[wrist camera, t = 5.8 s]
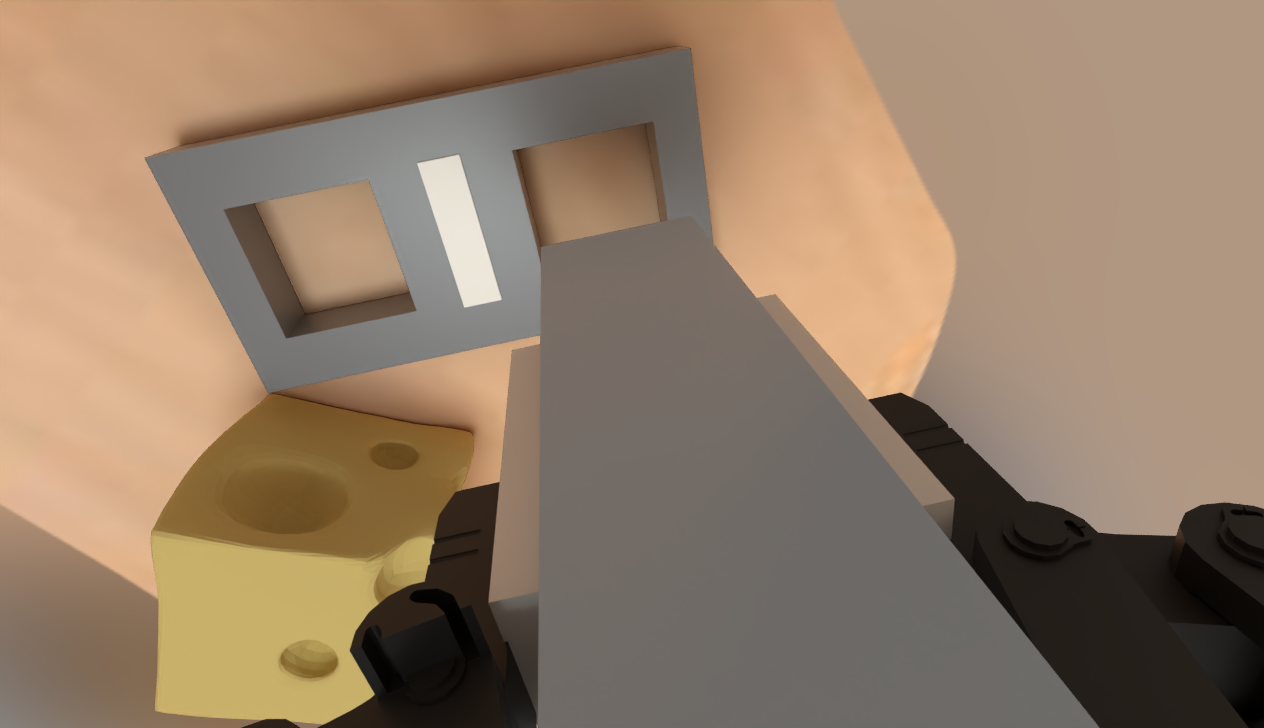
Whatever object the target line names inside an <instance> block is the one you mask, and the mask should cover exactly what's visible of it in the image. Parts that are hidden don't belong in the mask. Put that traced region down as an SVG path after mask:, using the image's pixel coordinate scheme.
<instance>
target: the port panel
mask: <svg viewBox="0 0 1264 728" xmlns="http://www.w3.org/2000/svg"><path fill="white" fill-rule="evenodd" d="M644 123H646V130H647V136H648V143H649V149H650V156H651V162H652V168H653V175H654V181H655V188H656V194H657V201H658V207H659V214H660V220H661V222H663V221H667V220H672V219H677V218H682V217H687V216H691V217H692V218H693V219H694V220H695V222H696V223H697V224H698V225H699V227H700V228H701V229H702V230H703V232H704V233H705V234H706V235H707V237H708V238H709V239H710V240H711V242H712V243H713V237H712V229H711V220H710V212H709V203H708V194H707V186H706V177H705V169H704V160H703V151H702V143H701V134H700V126H699V117H698V108H697V100H696V91H695V83H694V74H693V65H692V57H691V48H687V47H681V46H675V47H670V48H665V49H660V50H655V51H650V52H645V53H640V54H635V55H630V56H625V57H620V58H615V59H610V60H606V61H601V62H596V63H591V64H586V65H581V66H576V67H571V68H566V69H561V70H556V71H551V72H546V73H541V74H536V75H531V76H526V77H521V78H516V79H511V80H506V81H501V82H496V83H491V84H486V85H481V86H476V87H471V88H466V89H461V90H456V91H451V92H446V93H441V94H436V95H431V96H426V97H421V98H416V99H411V100H406V101H401V102H397V103H392V104H387V105H382V106H377V107H372V108H367V109H362V110H357V111H352V112H347V113H342V114H337V115H332V116H327V117H322V118H317V119H312V120H307V121H302V122H297V123H292V124H287V125H282V126H277V127H272V128H267V129H262V130H257V131H252V132H247V133H242V134H237V135H232V136H227V137H222V138H217V139H212V140H207V141H202V142H197V143H192V144H187V145H183V146H178V147H175V148H172V149H169V150H166V151H163V152H160V153H158V154H155V155H152V156H149V157H146V158H145V160H146V162H147V164H148V166H149V168H150V169H151V171H152V173H153V175H154V177H155V179H156V181H157V183H158V185H159V187H160V188H161V190H162V192H163V194H164V196H165V198H166V200H167V202H168V204H169V206H170V207H171V209H172V211H173V213H174V215H175V217H176V219H177V221H178V223H179V225H180V226H181V228H182V230H183V232H184V234H185V236H186V238H187V240H188V242H189V244H190V245H191V247H192V249H193V251H194V253H195V255H196V257H197V259H198V261H199V263H200V264H201V266H202V268H203V270H204V272H205V274H206V276H207V278H208V280H209V282H210V283H211V285H212V287H213V289H214V291H215V293H216V295H217V297H218V299H219V301H220V302H221V304H222V306H223V308H224V310H225V312H226V314H227V316H228V318H229V320H230V321H231V323H232V325H233V327H234V329H235V331H236V333H237V335H238V337H239V339H240V340H241V342H242V344H243V346H244V348H245V350H246V352H247V354H248V356H249V358H250V359H251V361H252V363H253V365H254V367H255V369H256V371H257V373H258V375H259V377H260V378H261V380H262V382H263V384H264V386H265V388H266V390H267V392H268V393H271V392H276V391H280V390H285V389H290V388H294V387H299V386H304V385H308V384H313V383H318V382H322V381H327V380H332V379H337V378H341V377H346V376H351V375H355V374H360V373H365V372H369V371H374V370H379V369H383V368H388V367H393V366H397V365H402V364H407V363H412V362H416V361H421V360H426V359H430V358H435V357H440V356H444V355H449V354H454V353H458V352H463V351H468V350H472V349H477V348H482V347H487V346H491V345H496V344H501V343H505V342H510V341H515V340H519V339H524V338H529V337H533V336H538V335H540V318H541V245H540V241H539V237H538V233H537V229H536V225H535V221H534V217H533V213H532V209H531V205H530V201H529V197H528V193H527V189H526V185H525V181H524V177H523V173H522V169H521V165H520V161H519V157H518V153H517V149H522V148H527V147H532V146H536V145H541V144H546V143H551V142H556V141H561V140H566V139H571V138H576V137H580V136H585V135H590V134H595V133H600V132H605V131H610V130H615V129H620V128H625V127H629V126H634V125H639V124H644ZM365 180H369V182H370V185H371V188H372V190H373V193H374V196H375V199H376V201H377V204H378V207H379V209H380V212H381V215H382V218H383V220H384V223H385V226H386V229H387V231H388V234H389V237H390V239H391V242H392V245H393V248H394V250H395V253H396V256H397V258H398V261H399V264H400V267H401V269H402V272H403V275H404V277H405V280H406V283H407V286H408V288H409V291H410V293H407V294H402V295H397V296H393V297H388V298H383V299H378V300H373V301H369V302H364V303H359V304H354V305H350V306H345V307H340V308H335V309H331V310H326V311H321V312H316V313H312V314H307V315H305V313H304V311H303V309H302V307H301V305H300V302H299V300H298V298H297V296H296V294H295V292H294V289H293V287H292V285H291V283H290V281H289V279H288V276H287V274H286V272H285V270H284V268H283V265H282V263H281V261H280V259H279V257H278V255H277V252H276V250H275V248H274V246H273V244H272V242H271V239H270V237H269V235H268V233H267V231H266V229H265V226H264V224H263V222H262V220H261V218H260V216H259V213H258V211H257V209H256V207H255V205H254V203H257V202H262V201H267V200H272V199H277V198H282V197H287V196H292V195H297V194H302V193H306V192H311V191H316V190H321V189H326V188H331V187H336V186H341V185H346V184H350V183H355V182H360V181H365Z"/></svg>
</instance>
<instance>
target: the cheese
mask: <svg viewBox="0 0 1264 728" xmlns="http://www.w3.org/2000/svg"><path fill="white" fill-rule="evenodd" d="M473 452H474V439H473V436H472V434H471V433H470V432H467V431H464V430H459V429H453V428H446V427H437V426H428V425H420V424H413V423H408V422H403V421H397V420H392V419H388V418H384V417H379V416H374V415H369V414H363V413H358V412H354V411H349V410H344V409H339V408H335V407H330V406H326V405H321V404H317V403H313V402H308V401H304V400H300V399H296V398H291V397H287V396H282V395H277V394H270V395H268V396H267V397H266V398H265V399H264V400H263V401H262V402H261V403H260V404H258V405H257V406H256V407H255V408H253V409H252V410H251V411H250V412H248V413H247V414H246V415H245V416H243V417H242V418H241V419H240V420H238V421H237V422H236V423H235V424H234V425H232V426H231V427H230V428H229V429H228V430H227V431H225V432H224V433H223V434H222V435H221V436H220V437H219V438H218V439H217V440H216V441H215V442H214V443H213V444H212V445H211V446H210V447H209V448H208V449H207V450H206V451H205V452H204V453H203V454H202V455H201V456H200V457H199V458H198V460H197V461H196V462H195V463H194V464H193V466H192V467H191V468H190V470H189V471H188V472H187V474H186V475H185V476H184V478H183V479H182V481H181V482H180V484H179V485H178V487H177V488H176V490H175V491H174V493H173V495H172V496H171V498H170V499H169V501H168V503H167V504H166V506H165V507H164V509H163V511H162V513H161V514H160V516H159V518H158V520H157V522H156V524H155V526H154V528H153V530H152V532H151V550H152V559H153V565H154V571H155V577H156V583H157V591H158V600H159V625H158V626H159V628H158V669H157V688H156V702H155V710H156V711H158V712H164V713H172V714H180V715H189V716H201V717H213V718H234V719H257V720H259V719H260V720H265V719H287V720H289V721H294V722H295V721H296V722H306V723H317V724H326V723H328V722H330V721H331V720H333V719H335V718H337V717H339V716H341V715H343V714H345V713H347V712H349V711H351V710H353V709H354V708H356V707H357V706H359V705H361V704H362V703H364V702H366V701H367V700H369V699H370V698H371V697H373V696H374V695H375V694H374V692H373V690H372V689H371V687H370V685H369V684H368V682H367V680H366V678H365V677H364V675H363V673H362V672H361V670H360V668H359V666H358V665H357V663H356V661H355V659H354V658H353V656H352V654H351V653H350V647H351V644H352V641H353V637H354V634H355V631H356V630H357V628H358V627H359V625H360V624H361V623H362V621H363V620H364V618H365V617H366V616H367V614H368V613H369V612H370V611H371V610H372V609H373V608H374V607H376V606H377V605H378V604H379V603H380V602H382V601H383V600H384V599H385V598H386V597H388V596H389V595H391V594H393V593H395V592H397V591H399V590H401V589H403V588H405V587H407V586H409V585H412V584H416V583H420V582H425V577H426V573H427V568H428V565H430V560H429V559H430V554H431V549H432V545H433V544H434V535H435V530H436V526H437V521H438V516H439V514H440V513H441V511H442V510H443V509H444V507H445V506H446V504H447V503H448V502H449V500H450V499H451V497H452V496H453V495H454V493H455V492H457V491H461V489H462V486H463V483H464V481H465V478H466V475H467V473H468V470H469V467H470V464H471V460H472V456H473Z"/></svg>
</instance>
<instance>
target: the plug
mask: <svg viewBox="0 0 1264 728" xmlns="http://www.w3.org/2000/svg"><path fill="white" fill-rule="evenodd" d="M538 728H1099V726H1098V725H1097V724H1096V723H1095V721H1094V720H1093V719H1092V718H1091V716H1090V715H1089V714H1088V713H1087V711H1086V710H1085V709H1084V708H1083V706H1082V705H1081V704H1080V703H1079V701H1078V700H1077V699H1076V698H1075V696H1074V695H1073V694H1072V693H1071V691H1070V690H1069V689H1068V688H1067V686H1066V685H1065V684H1064V683H1063V681H1062V680H1061V679H1060V678H1059V676H1058V675H1057V674H1056V673H1055V671H1054V670H1053V669H1052V668H1051V666H1050V665H1049V664H1048V663H1047V661H1046V660H1045V659H1044V658H1043V656H1042V655H1041V654H1040V653H1039V651H1038V650H1037V649H1036V648H1035V646H1034V645H1033V644H1032V643H1031V641H1030V640H1029V639H1028V637H1027V636H1026V635H1025V634H1024V632H1023V631H1022V630H1021V629H1020V627H1019V626H1018V625H1017V624H1016V622H1015V621H1014V620H1013V619H1012V617H1011V616H1010V615H1009V614H1008V612H1007V611H1006V610H1005V609H1004V607H1003V606H1002V605H1001V604H1000V602H999V601H998V600H997V599H996V597H995V596H994V595H993V594H992V592H991V591H990V590H989V589H988V587H987V586H986V585H985V584H984V582H983V581H982V580H981V579H980V577H979V576H978V575H977V574H976V572H975V571H974V570H973V569H972V567H971V566H970V565H969V564H968V562H967V561H966V560H965V559H964V557H963V556H962V555H961V554H960V552H959V551H958V550H957V549H956V547H955V546H954V545H953V544H952V542H951V541H950V540H949V539H948V537H947V536H946V535H945V534H944V532H943V531H942V530H941V529H940V527H939V526H938V525H937V523H936V522H935V521H934V520H933V518H932V517H931V516H930V515H929V513H928V512H927V511H926V510H925V508H924V507H923V506H922V505H921V503H920V502H919V501H918V500H917V498H916V497H915V496H914V495H913V493H912V492H911V491H910V490H909V488H908V487H907V486H906V485H905V483H904V482H903V481H902V480H901V478H900V477H899V476H898V475H897V473H896V472H895V471H894V470H893V468H892V467H891V466H890V465H889V463H888V462H887V461H886V460H885V458H884V457H883V456H882V455H881V453H880V452H879V451H878V450H877V448H876V447H875V446H874V445H873V443H872V442H871V441H870V440H869V438H868V437H867V436H866V435H865V433H864V432H863V431H862V430H861V428H860V427H859V426H858V425H857V423H856V422H855V421H854V420H853V418H852V417H851V416H850V415H849V413H848V412H847V411H846V410H845V408H844V407H843V406H842V404H841V403H840V402H839V401H838V399H837V398H836V397H835V396H834V394H833V393H832V392H831V391H830V389H829V388H828V387H827V386H826V384H825V383H824V382H823V381H822V379H821V378H820V377H819V376H818V374H817V373H816V372H815V371H814V369H813V368H812V367H811V366H810V364H809V363H808V362H807V361H806V359H805V358H804V357H803V356H802V354H801V353H800V352H799V351H798V349H797V348H796V347H795V346H794V344H793V343H792V342H791V341H790V339H789V338H788V337H787V336H786V334H785V333H784V332H783V331H782V329H781V328H780V327H779V326H778V324H777V323H776V322H775V321H774V319H773V318H772V317H771V316H770V314H769V313H768V312H767V311H766V309H765V308H764V307H763V306H762V304H761V303H760V302H759V301H758V299H757V298H756V297H755V296H754V294H753V293H752V292H751V290H750V289H749V288H748V287H747V285H746V284H745V283H744V282H743V280H742V279H741V278H740V277H739V275H738V274H737V273H736V272H735V270H734V269H733V268H732V267H731V265H730V264H729V263H728V262H727V260H726V259H725V258H724V257H723V255H722V254H721V253H720V252H719V250H718V249H717V248H716V247H715V245H714V244H713V243H712V242H711V240H710V239H709V238H708V237H707V235H706V234H705V233H704V232H703V230H702V229H701V228H700V227H699V225H698V224H697V223H696V222H695V220H694V219H693V218H692V217H691V216H687V217H682V218H677V219H672V220H667V221H663V222H658V223H653V224H648V225H643V226H639V227H634V228H629V229H624V230H619V231H615V232H610V233H605V234H600V235H595V236H591V237H586V238H581V239H576V240H571V241H567V242H562V243H557V244H552V245H547V246H542V247H541V318H540V477H539V636H538Z"/></svg>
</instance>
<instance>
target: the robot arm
mask: <svg viewBox="0 0 1264 728" xmlns="http://www.w3.org/2000/svg"><path fill="white" fill-rule="evenodd" d="M757 299H758V301H759V302H760V303H761V304H762V306H763V307H764V308H765V309H766V311H767V312H768V313H769V314H770V316H771V317H772V318H773V319H774V321H775V322H776V323H777V324H778V326H779V327H780V328H781V329H782V331H783V332H784V333H785V334H786V336H787V337H788V338H789V339H790V341H791V342H792V343H793V344H794V346H795V347H796V348H797V349H798V351H799V352H800V353H801V354H802V356H803V357H804V358H805V359H806V361H807V362H808V363H809V364H810V366H811V367H812V368H813V369H814V371H815V372H816V373H817V374H818V376H819V377H820V378H821V379H822V381H823V382H824V383H825V384H826V386H827V387H828V388H829V389H830V391H831V392H832V393H833V394H834V396H835V397H836V398H837V399H838V401H839V402H840V403H841V404H842V406H843V407H844V408H845V410H846V411H847V412H848V413H849V415H850V416H851V417H852V418H853V420H854V421H855V422H856V423H857V425H858V426H859V427H860V428H861V430H862V431H863V432H864V433H865V435H866V436H867V437H868V438H869V440H870V441H871V442H872V443H873V445H874V446H875V447H876V448H877V450H878V451H879V452H880V453H881V455H882V456H883V457H884V458H885V460H886V461H887V462H888V463H889V465H890V466H891V467H892V468H893V470H894V471H895V472H896V473H897V475H898V476H899V477H900V478H901V480H902V481H903V482H904V483H905V485H906V486H907V487H908V488H909V490H910V491H911V492H912V493H913V495H914V496H915V497H916V498H917V500H918V501H919V502H920V503H921V505H922V506H923V507H924V508H925V510H926V511H927V512H928V513H929V515H930V516H931V517H932V518H933V520H934V521H935V522H936V523H937V525H938V526H939V527H940V529H941V530H942V531H943V532H944V534H945V535H946V536H947V537H948V539H949V540H950V541H951V542H952V544H953V545H954V546H955V547H956V549H957V550H958V551H959V552H960V554H961V555H962V556H963V557H964V559H965V560H966V561H967V562H968V564H969V565H970V566H971V567H972V569H973V570H974V571H975V572H976V574H977V575H978V576H979V577H980V579H981V580H982V581H983V582H984V584H985V585H986V586H987V587H988V589H989V590H990V591H991V592H992V594H993V595H994V596H995V597H996V599H997V600H998V601H999V602H1000V604H1001V605H1002V606H1003V607H1004V609H1005V610H1006V611H1007V612H1008V614H1009V615H1010V616H1011V617H1012V619H1013V620H1014V621H1015V622H1016V624H1017V625H1018V626H1019V627H1020V629H1021V630H1022V631H1023V632H1024V634H1025V635H1026V636H1027V637H1028V639H1029V640H1030V641H1031V643H1032V644H1033V645H1034V646H1035V648H1036V649H1037V650H1038V651H1039V653H1040V654H1041V655H1042V656H1043V658H1044V659H1045V660H1046V661H1047V663H1048V664H1049V665H1050V666H1051V668H1052V669H1053V670H1054V671H1055V673H1056V674H1057V675H1058V676H1059V678H1060V679H1061V680H1062V681H1063V683H1064V684H1065V685H1066V686H1067V688H1068V689H1069V690H1070V691H1071V693H1072V694H1073V695H1074V696H1075V698H1076V699H1077V700H1078V701H1079V703H1080V704H1081V705H1082V706H1083V708H1084V709H1085V710H1086V711H1087V713H1088V714H1089V715H1090V716H1091V718H1092V719H1093V720H1094V721H1095V723H1096V724H1097V725H1098V726H1099V728H1264V509H1262V508H1259V507H1255V506H1249V505H1241V504H1233V503H1216V504H1206V505H1200V506H1198V507H1196V508H1194V509H1192V510H1190V511H1188V512H1186V513H1185V515H1184V517H1183V519H1182V521H1181V524H1180V526H1179V529H1178V532H1177V535H1176V536H1156V535H1120V534H1119V535H1118V534H1107V533H1098V532H1097V531H1096V530H1095V529H1093V528H1092V527H1091V526H1090V525H1089V524H1088V523H1087V522H1085V520H1084V519H1082V518H1080V517H1078V516H1076V515H1074V514H1072V513H1070V512H1068V511H1066V510H1064V509H1062V508H1059V507H1055V506H1051V505H1048V504H1044V503H1040V502H1032V501H1026V500H1025V499H1024V498H1023V497H1022V496H1021V495H1020V494H1019V493H1018V492H1017V491H1016V490H1014V488H1013V487H1012V486H1011V485H1009V484H1008V483H1007V482H1006V481H1005V480H1004V479H1003V478H1002V477H1001V476H1000V475H999V474H998V473H997V472H996V471H995V470H994V469H993V468H992V467H991V466H990V465H989V464H988V463H987V462H986V461H985V460H984V459H983V458H982V457H981V456H980V455H979V454H978V453H977V452H976V451H975V450H973V449H972V447H971V446H969V445H968V444H965V443H964V441H963V439H962V438H961V437H960V436H959V435H958V434H957V433H956V432H955V431H954V430H953V429H952V428H948V424H947V423H946V422H945V421H944V420H943V419H942V418H941V417H940V416H939V415H938V414H937V413H936V412H935V411H934V410H933V409H932V408H930V407H929V406H928V405H926V404H924V403H922V402H920V401H918V400H915V399H913V398H911V397H909V396H907V395H905V394H903V393H897V394H892V395H887V396H883V397H878V398H874V399H869V400H868V399H867V398H866V397H865V396H864V395H863V394H862V393H861V391H860V390H859V389H858V388H857V387H856V386H855V385H854V383H853V382H852V381H851V380H850V379H849V378H848V377H847V375H846V374H845V373H844V372H843V371H842V370H841V369H840V367H839V366H838V365H837V364H836V363H835V362H834V361H833V359H832V358H831V357H830V356H829V355H828V354H827V353H826V351H825V350H824V349H823V348H822V347H821V346H820V345H819V344H818V342H817V341H816V340H815V339H814V338H813V337H812V336H811V334H810V333H809V332H808V331H807V330H806V329H805V328H804V326H803V325H802V324H801V323H800V322H799V321H798V320H797V318H796V317H795V316H794V315H793V314H792V313H791V312H790V310H789V309H788V308H787V307H786V306H785V305H784V304H783V302H782V301H781V300H780V299H779V298H778V297H777V296H776V294H774V295H769V296H765V297H760V298H757ZM539 477H540V344H539V345H534V346H529V347H525V348H520V349H515V350H512V355H511V366H510V376H509V387H508V398H507V409H506V419H505V430H504V441H503V451H502V462H501V473H500V482H498V483H493V484H489V485H484V486H480V487H475V488H470V489H466V490H461V491H457V492H455V493H454V495H453V496H452V497H451V499H450V500H449V502H448V503H447V504H446V506H445V507H444V509H443V510H442V511H441V513H440V514H439V516H438V521H437V526H436V530H435V535H434V544H433V545H432V549H431V554H430V559H429V560H430V565H428V568H427V573H426V577H425V582H420V583H416V584H412V585H409V586H407V587H405V588H403V589H401V590H399V591H397V592H395V593H393V594H391V595H389V596H388V597H386V598H385V599H384V600H383V601H382V602H380V603H379V604H378V605H377V606H376V607H374V608H373V609H372V610H371V611H370V612H369V613H368V614H367V616H366V617H365V618H364V620H363V621H362V623H361V624H360V625H359V627H358V628H357V630H356V631H355V634H354V637H353V641H352V644H351V647H350V653H351V654H352V656H353V658H354V659H355V661H356V663H357V665H358V666H359V668H360V670H361V672H362V673H363V675H364V677H365V678H366V680H367V682H368V684H369V685H370V687H371V689H372V690H373V692H374V694H375V695H374V696H373V697H371V698H370V699H369V700H367V701H366V702H364V703H362V704H361V705H359V706H357V707H356V708H354V709H353V710H351V711H349V712H347V713H345V714H343V715H341V716H339V717H337V718H335V719H333V720H331V721H330V722H328V723H326V724H324V725H322V726H320V727H318V728H536V723H537V725H538V636H539ZM242 728H300V727H298V726H297V725H295V724H294V723H292V722H290V721H289V720H287V719H265V720H262V721H259V722H256V723H254V724H251V725H248V726H245V727H242Z"/></svg>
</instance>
